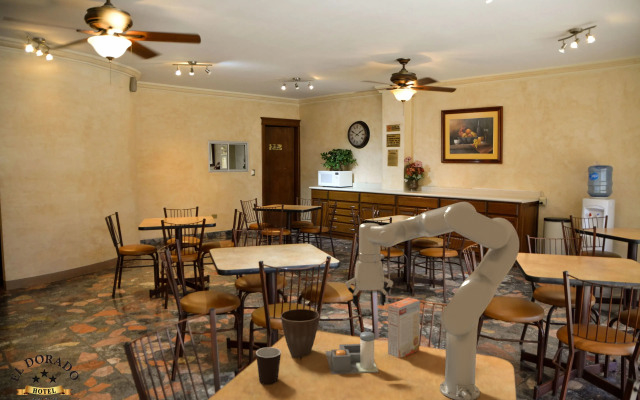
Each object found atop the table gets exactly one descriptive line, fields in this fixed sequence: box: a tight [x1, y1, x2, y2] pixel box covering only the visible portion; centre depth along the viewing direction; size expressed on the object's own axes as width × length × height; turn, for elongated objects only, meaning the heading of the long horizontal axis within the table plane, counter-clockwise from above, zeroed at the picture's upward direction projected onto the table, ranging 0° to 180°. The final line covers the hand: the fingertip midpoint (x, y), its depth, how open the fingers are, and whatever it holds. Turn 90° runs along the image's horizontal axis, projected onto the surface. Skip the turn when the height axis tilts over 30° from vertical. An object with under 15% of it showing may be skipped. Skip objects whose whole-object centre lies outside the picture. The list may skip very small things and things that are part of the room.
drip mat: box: [356, 361, 379, 374], centre depth 169 cm, size 7×7×1 cm
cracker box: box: [387, 297, 421, 359], centre depth 183 cm, size 14×6×21 cm, turn 134°
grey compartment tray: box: [325, 343, 379, 375], centre depth 174 cm, size 20×17×6 cm
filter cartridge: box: [359, 331, 376, 370], centre depth 168 cm, size 5×5×12 cm
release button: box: [336, 349, 346, 356], centre depth 168 cm, size 4×4×4 cm
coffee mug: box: [255, 346, 282, 386], centre depth 162 cm, size 12×9×10 cm
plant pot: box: [280, 308, 320, 359], centre depth 182 cm, size 15×15×16 cm
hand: (369, 305), depth 167 cm, fingers open, 9 cm apart
